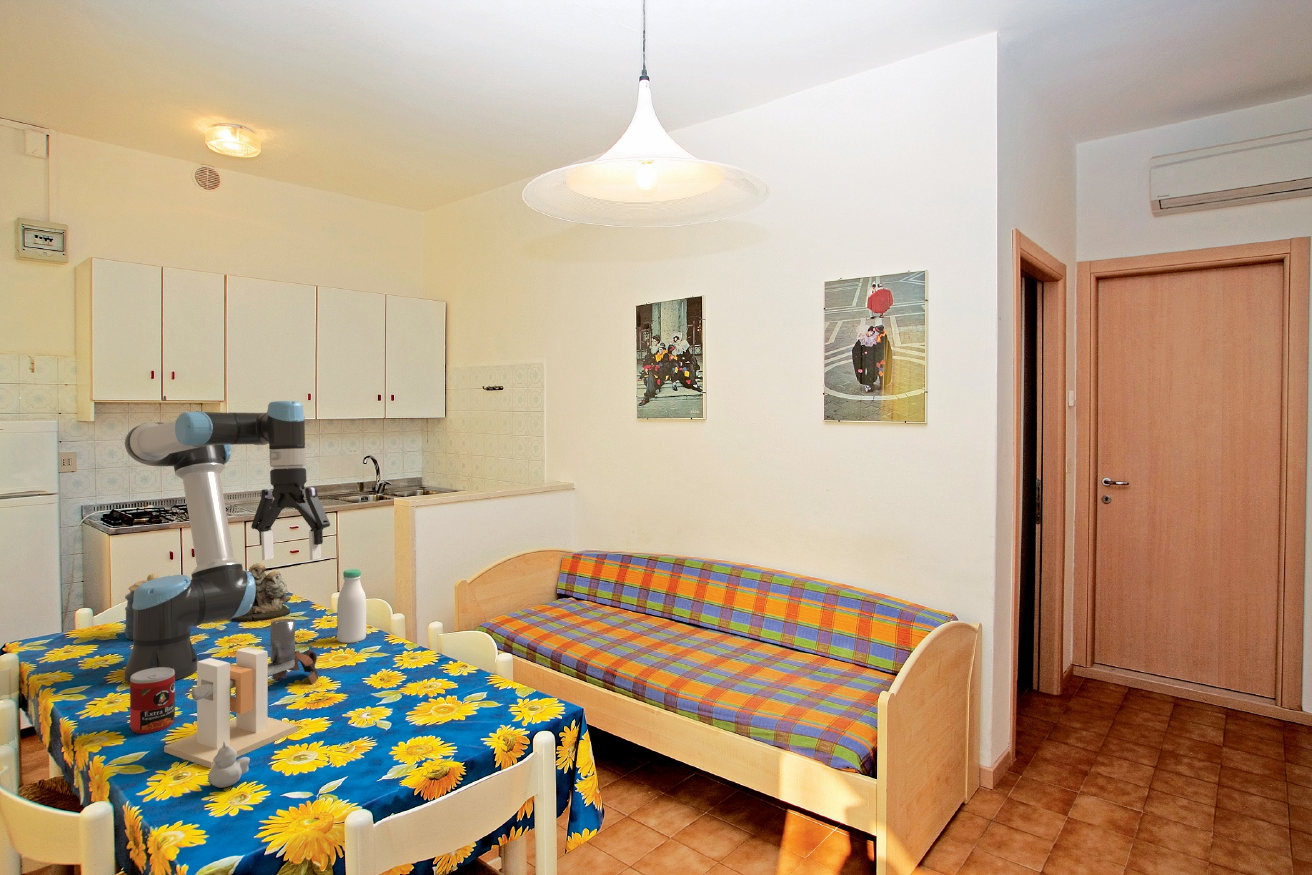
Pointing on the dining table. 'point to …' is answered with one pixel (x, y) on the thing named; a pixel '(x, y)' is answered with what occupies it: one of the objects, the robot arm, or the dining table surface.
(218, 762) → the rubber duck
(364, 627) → the milk bottle
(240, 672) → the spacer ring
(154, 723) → the canned food
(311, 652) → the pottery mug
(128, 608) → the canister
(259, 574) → the owl figurine
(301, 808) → the dining table surface
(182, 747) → the wooden twin post stand
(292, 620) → the shaft
